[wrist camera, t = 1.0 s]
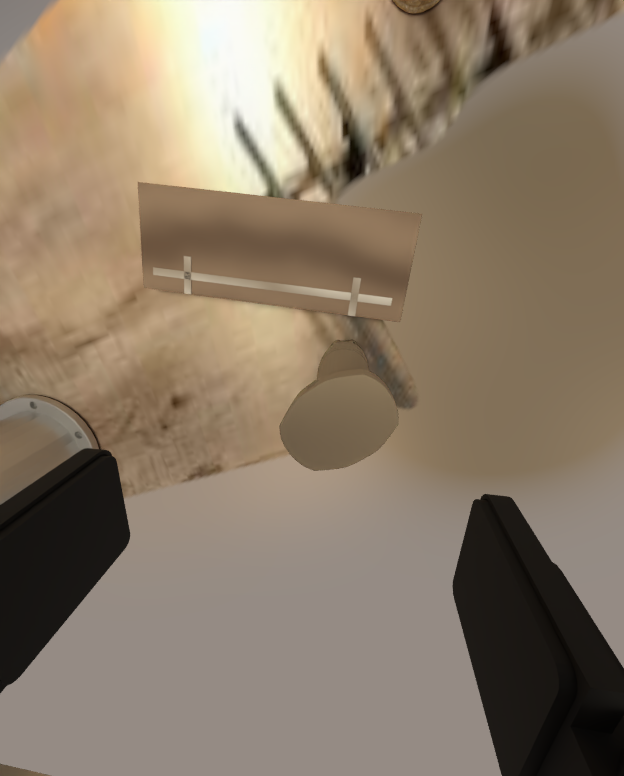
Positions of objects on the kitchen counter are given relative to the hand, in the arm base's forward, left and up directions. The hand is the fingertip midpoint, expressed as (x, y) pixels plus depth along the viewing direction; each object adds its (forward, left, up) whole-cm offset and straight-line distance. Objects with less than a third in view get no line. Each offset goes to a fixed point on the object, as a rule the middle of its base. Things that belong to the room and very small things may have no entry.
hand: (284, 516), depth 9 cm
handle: (-2, -1, -25) cm, 25 cm away
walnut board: (+6, +6, -24) cm, 26 cm away
